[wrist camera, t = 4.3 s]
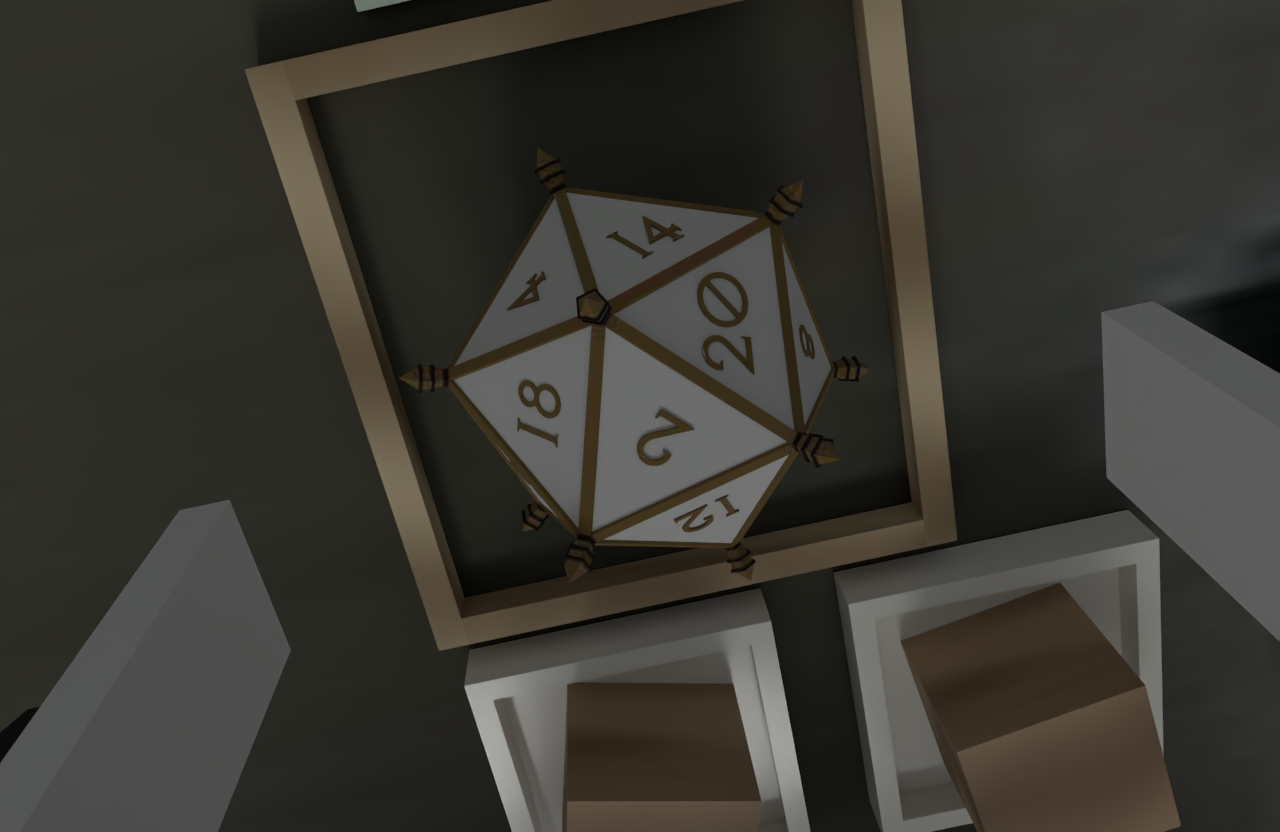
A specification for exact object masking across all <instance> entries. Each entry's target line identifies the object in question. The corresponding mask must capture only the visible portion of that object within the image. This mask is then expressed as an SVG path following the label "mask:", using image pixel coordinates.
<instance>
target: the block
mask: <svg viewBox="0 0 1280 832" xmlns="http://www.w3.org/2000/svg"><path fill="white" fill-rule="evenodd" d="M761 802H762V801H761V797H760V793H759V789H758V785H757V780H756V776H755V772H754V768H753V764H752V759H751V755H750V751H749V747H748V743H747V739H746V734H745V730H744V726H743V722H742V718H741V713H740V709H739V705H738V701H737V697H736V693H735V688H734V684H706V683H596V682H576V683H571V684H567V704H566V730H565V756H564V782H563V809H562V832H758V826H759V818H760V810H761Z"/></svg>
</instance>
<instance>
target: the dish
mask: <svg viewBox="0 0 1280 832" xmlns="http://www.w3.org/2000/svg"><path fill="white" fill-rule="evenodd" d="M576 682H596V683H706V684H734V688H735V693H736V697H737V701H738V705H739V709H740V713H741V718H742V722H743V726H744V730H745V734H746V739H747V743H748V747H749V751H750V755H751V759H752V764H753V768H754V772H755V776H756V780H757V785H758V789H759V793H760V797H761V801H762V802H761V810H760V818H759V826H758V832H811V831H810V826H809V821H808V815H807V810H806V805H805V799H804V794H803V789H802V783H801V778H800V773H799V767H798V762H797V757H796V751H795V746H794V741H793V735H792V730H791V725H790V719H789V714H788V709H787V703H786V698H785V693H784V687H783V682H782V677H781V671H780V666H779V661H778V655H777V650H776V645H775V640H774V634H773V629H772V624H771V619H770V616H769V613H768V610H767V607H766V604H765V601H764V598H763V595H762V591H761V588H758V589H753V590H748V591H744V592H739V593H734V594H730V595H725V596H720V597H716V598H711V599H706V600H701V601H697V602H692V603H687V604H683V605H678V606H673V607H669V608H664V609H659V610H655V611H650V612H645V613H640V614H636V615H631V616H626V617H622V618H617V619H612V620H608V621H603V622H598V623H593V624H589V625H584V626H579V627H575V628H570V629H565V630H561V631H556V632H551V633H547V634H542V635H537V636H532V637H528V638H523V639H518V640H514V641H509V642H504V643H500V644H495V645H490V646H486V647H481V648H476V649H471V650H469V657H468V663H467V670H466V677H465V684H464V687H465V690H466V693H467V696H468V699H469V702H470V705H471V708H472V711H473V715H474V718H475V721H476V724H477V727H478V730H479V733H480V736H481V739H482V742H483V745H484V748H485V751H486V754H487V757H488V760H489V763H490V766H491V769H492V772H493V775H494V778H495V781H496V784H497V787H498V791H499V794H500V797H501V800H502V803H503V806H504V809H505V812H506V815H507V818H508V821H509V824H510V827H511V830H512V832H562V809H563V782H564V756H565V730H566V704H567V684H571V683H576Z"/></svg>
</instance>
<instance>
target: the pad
mask: <svg viewBox="0 0 1280 832" xmlns="http://www.w3.org/2000/svg"><path fill="white" fill-rule="evenodd" d="M407 1H411V0H354V2H355V5H356V9H357V12H362V11H366V10H371V9H375V8H380V7H384V6H389V5H393V4H398V3H402V2H407Z"/></svg>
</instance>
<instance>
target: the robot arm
mask: <svg viewBox="0 0 1280 832" xmlns="http://www.w3.org/2000/svg"><path fill="white" fill-rule="evenodd" d="M1101 317H1102V349H1103V380H1104V412H1105V444H1106V475H1107V478H1108V479H1109V480H1110V481H1111V482H1112V483H1113V484H1114V485H1115V486H1116V487H1117V488H1118V489H1119V490H1120V491H1122V492H1123V493H1124V494H1125V495H1126V496H1127V497H1128V498H1129V499H1130V500H1131V501H1132V502H1133V503H1134V504H1135V505H1136V506H1137V507H1138V508H1139V509H1140V510H1142V511H1143V512H1144V513H1145V514H1146V515H1147V516H1148V517H1149V518H1150V519H1151V520H1152V521H1153V522H1154V523H1155V524H1156V525H1157V526H1158V527H1159V528H1161V529H1162V530H1163V531H1164V532H1165V533H1166V534H1167V535H1168V536H1169V537H1170V538H1171V539H1172V540H1173V541H1174V542H1175V543H1176V544H1177V545H1178V546H1179V547H1181V548H1182V549H1183V550H1184V551H1185V552H1186V553H1187V554H1188V555H1189V556H1190V557H1191V558H1192V559H1193V560H1194V561H1195V562H1196V563H1197V564H1198V565H1199V566H1201V567H1202V568H1203V569H1204V570H1205V571H1206V572H1207V573H1208V574H1209V575H1210V576H1211V577H1212V578H1213V579H1214V580H1215V581H1216V582H1217V583H1218V584H1220V585H1221V586H1222V587H1223V588H1224V589H1225V590H1226V591H1227V592H1228V593H1229V594H1230V595H1231V596H1232V597H1233V598H1234V599H1235V600H1236V601H1237V602H1238V603H1240V604H1241V605H1242V606H1243V607H1244V608H1245V609H1246V610H1247V611H1248V612H1249V613H1250V614H1251V615H1252V616H1253V617H1254V618H1255V619H1256V620H1257V621H1258V622H1260V623H1261V624H1262V625H1263V626H1264V627H1265V628H1266V629H1267V630H1268V631H1269V632H1270V633H1271V634H1272V635H1273V636H1274V637H1275V638H1276V639H1277V640H1279V641H1280V373H1278V372H1276V371H1274V370H1273V369H1271V368H1269V367H1267V366H1266V365H1264V364H1262V363H1260V362H1259V361H1257V360H1255V359H1253V358H1252V357H1250V356H1248V355H1246V354H1245V353H1243V352H1241V351H1239V350H1238V349H1236V348H1234V347H1232V346H1231V345H1229V344H1227V343H1225V342H1224V341H1222V340H1220V339H1218V338H1217V337H1215V336H1213V335H1212V334H1210V333H1208V332H1206V331H1205V330H1203V329H1201V328H1199V327H1198V326H1196V325H1194V324H1192V323H1191V322H1189V321H1187V320H1185V319H1184V318H1182V317H1180V316H1178V315H1177V314H1175V313H1173V312H1171V311H1170V310H1168V309H1166V308H1164V307H1163V306H1161V305H1159V304H1157V303H1156V302H1154V301H1151V302H1146V303H1142V304H1137V305H1133V306H1128V307H1123V308H1119V309H1114V310H1109V311H1105V312H1101ZM290 651H291V649H290V647H289V644H288V642H287V639H286V637H285V634H284V632H283V629H282V627H281V625H280V622H279V620H278V617H277V615H276V612H275V610H274V608H273V605H272V603H271V600H270V598H269V595H268V593H267V590H266V588H265V586H264V583H263V581H262V578H261V576H260V573H259V571H258V568H257V566H256V564H255V561H254V559H253V556H252V554H251V551H250V549H249V546H248V544H247V542H246V539H245V537H244V534H243V532H242V529H241V527H240V524H239V522H238V520H237V517H236V515H235V512H234V510H233V507H232V505H231V502H230V500H226V501H221V502H216V503H212V504H207V505H202V506H198V507H193V508H188V509H184V510H179V512H178V513H177V515H176V516H175V517H174V519H173V520H172V522H171V523H170V524H169V526H168V527H167V529H166V530H165V532H164V533H163V534H162V536H161V537H160V539H159V540H158V541H157V543H156V544H155V546H154V547H153V548H152V550H151V551H150V553H149V554H148V555H147V557H146V558H145V560H144V561H143V563H142V564H141V565H140V567H139V568H138V570H137V571H136V572H135V574H134V575H133V577H132V578H131V579H130V581H129V582H128V584H127V585H126V587H125V588H124V589H123V591H122V592H121V594H120V595H119V596H118V598H117V599H116V601H115V602H114V603H113V605H112V606H111V608H110V609H109V611H108V612H107V613H106V615H105V616H104V618H103V619H102V620H101V622H100V623H99V625H98V626H97V627H96V629H95V630H94V632H93V633H92V635H91V636H90V637H89V639H88V640H87V642H86V643H85V644H84V646H83V647H82V649H81V650H80V651H79V653H78V654H77V656H76V657H75V658H74V660H73V661H72V663H71V664H70V666H69V667H68V668H67V670H66V671H65V673H64V674H63V675H62V677H61V678H60V680H59V681H58V682H57V684H56V685H55V687H54V688H53V690H52V691H51V692H50V694H49V695H48V697H47V698H46V699H45V701H44V702H43V704H42V705H41V706H40V707H37V708H32V709H28V710H26V711H25V712H24V713H23V714H22V715H21V716H19V717H18V718H17V719H16V720H15V721H14V722H12V723H11V724H10V725H9V726H8V727H7V728H5V729H4V730H3V731H2V732H1V733H0V832H218V830H219V827H220V825H221V822H222V820H223V817H224V815H225V812H226V810H227V807H228V805H229V803H230V800H231V798H232V795H233V793H234V790H235V788H236V785H237V783H238V780H239V778H240V775H241V773H242V770H243V768H244V765H245V763H246V760H247V758H248V755H249V753H250V750H251V748H252V745H253V743H254V740H255V738H256V735H257V733H258V730H259V728H260V725H261V723H262V720H263V718H264V715H265V713H266V710H267V708H268V706H269V703H270V701H271V698H272V696H273V693H274V691H275V688H276V686H277V683H278V681H279V678H280V676H281V673H282V671H283V668H284V666H285V663H286V661H287V658H288V656H289V653H290Z"/></svg>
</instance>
